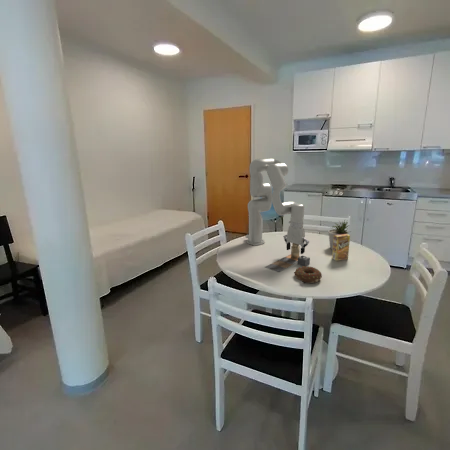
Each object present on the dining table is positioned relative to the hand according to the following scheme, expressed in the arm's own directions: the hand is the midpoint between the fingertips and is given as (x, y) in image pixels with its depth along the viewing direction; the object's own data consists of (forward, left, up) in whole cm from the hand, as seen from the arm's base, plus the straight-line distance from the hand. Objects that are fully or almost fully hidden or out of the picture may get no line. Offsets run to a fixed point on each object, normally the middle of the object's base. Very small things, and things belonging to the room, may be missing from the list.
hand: (295, 251), depth 180 cm
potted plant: (+11, +35, -5) cm, 38 cm away
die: (+9, -6, -5) cm, 12 cm away
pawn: (0, 0, -4) cm, 4 cm away
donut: (+20, -19, -5) cm, 28 cm away
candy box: (+20, +18, -5) cm, 28 cm away
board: (0, -11, -5) cm, 12 cm away
